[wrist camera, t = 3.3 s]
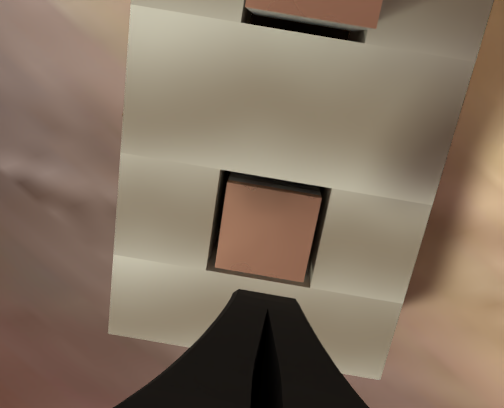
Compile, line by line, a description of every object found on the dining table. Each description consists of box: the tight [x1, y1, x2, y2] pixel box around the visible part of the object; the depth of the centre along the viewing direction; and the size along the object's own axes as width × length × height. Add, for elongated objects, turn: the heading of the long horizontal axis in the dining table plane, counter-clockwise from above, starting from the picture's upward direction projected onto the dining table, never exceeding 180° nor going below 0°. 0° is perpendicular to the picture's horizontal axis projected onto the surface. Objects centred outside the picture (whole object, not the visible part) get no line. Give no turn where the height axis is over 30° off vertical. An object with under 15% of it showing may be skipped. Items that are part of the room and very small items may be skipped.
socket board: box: [108, 0, 494, 380], centre depth 16 cm, size 18×10×4 cm, turn 171°
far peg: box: [215, 171, 322, 282], centre depth 17 cm, size 3×3×4 cm
